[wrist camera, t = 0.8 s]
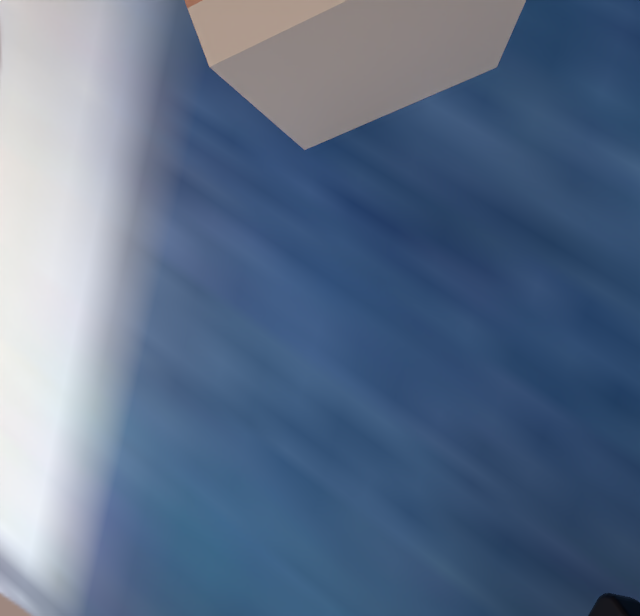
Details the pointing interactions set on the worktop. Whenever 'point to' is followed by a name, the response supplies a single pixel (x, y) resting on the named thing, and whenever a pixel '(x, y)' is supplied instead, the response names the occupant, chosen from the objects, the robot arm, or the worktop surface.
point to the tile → (348, 55)
